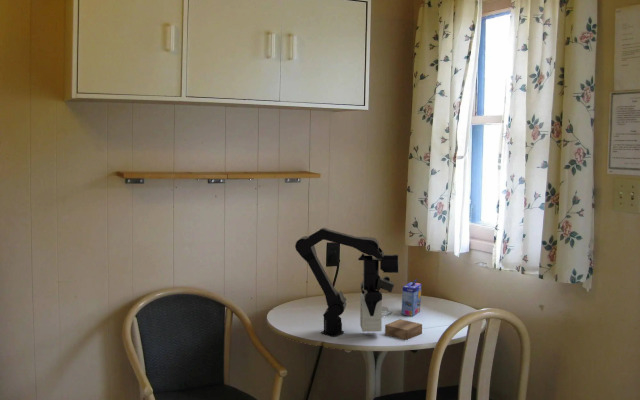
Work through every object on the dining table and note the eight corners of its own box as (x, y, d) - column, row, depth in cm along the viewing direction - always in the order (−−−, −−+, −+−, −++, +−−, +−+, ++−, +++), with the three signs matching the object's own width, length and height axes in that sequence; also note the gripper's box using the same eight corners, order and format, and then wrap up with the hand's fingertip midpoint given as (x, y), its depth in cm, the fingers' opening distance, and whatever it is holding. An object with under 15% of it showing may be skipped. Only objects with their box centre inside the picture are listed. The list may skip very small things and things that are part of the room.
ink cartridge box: (413, 317, 257) (414, 282, 256) (401, 315, 260) (401, 281, 258) (421, 311, 266) (422, 277, 265) (409, 309, 269) (409, 276, 267)
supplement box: (379, 325, 237) (379, 293, 236) (381, 331, 230) (382, 298, 228) (359, 325, 237) (360, 293, 236) (361, 332, 230) (361, 298, 228)
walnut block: (385, 335, 235) (385, 324, 234) (400, 329, 242) (400, 319, 242) (407, 340, 228) (407, 330, 228) (422, 334, 236) (422, 324, 235)
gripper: (396, 277, 222) (395, 320, 224) (389, 266, 241) (388, 306, 242) (365, 277, 222) (365, 320, 223) (360, 266, 240) (360, 306, 242)
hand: (370, 313), depth 233 cm, fingers closed on supplement box, 7 cm apart
